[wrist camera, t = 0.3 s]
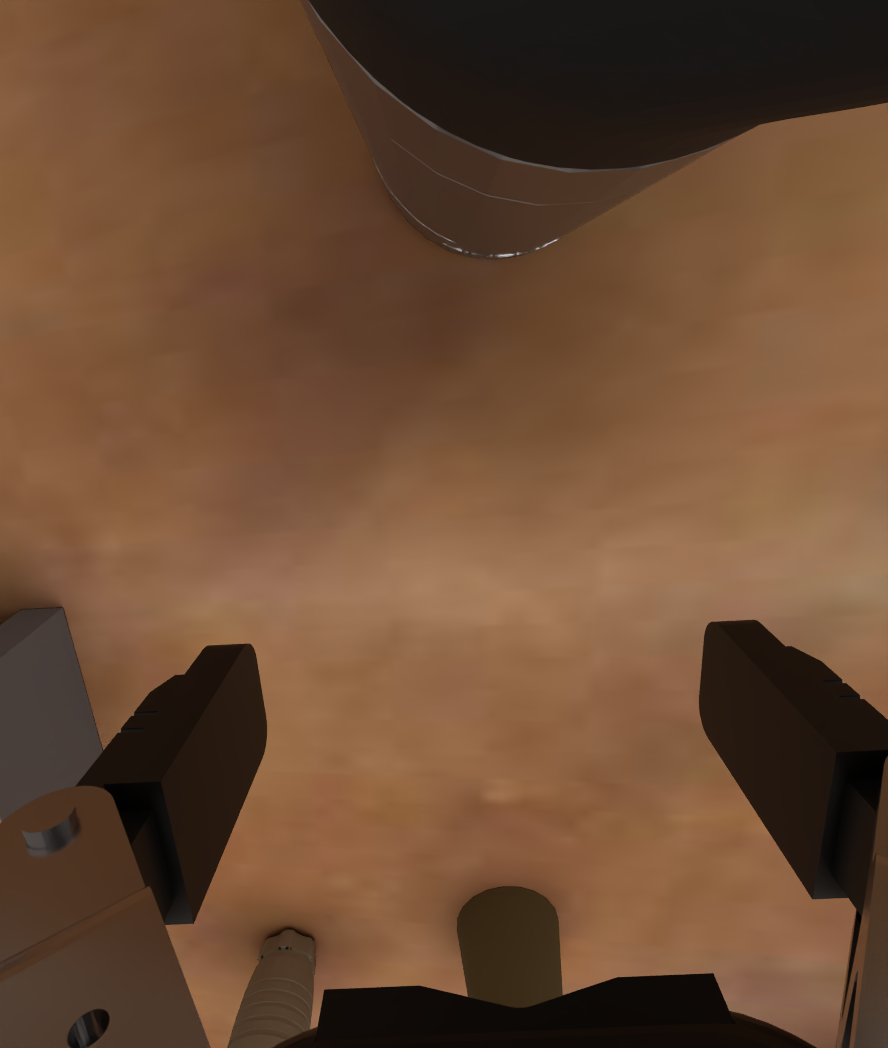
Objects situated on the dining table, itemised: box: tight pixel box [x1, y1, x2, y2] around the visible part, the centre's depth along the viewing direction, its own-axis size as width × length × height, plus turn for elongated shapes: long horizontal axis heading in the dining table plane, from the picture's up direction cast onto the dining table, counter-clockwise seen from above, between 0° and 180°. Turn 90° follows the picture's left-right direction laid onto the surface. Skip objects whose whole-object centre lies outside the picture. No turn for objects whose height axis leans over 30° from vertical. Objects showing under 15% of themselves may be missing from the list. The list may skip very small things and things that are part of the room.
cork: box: [457, 887, 563, 1008], centre depth 32 cm, size 6×6×11 cm
